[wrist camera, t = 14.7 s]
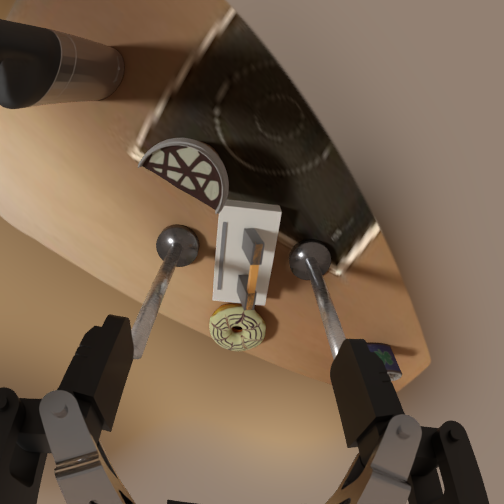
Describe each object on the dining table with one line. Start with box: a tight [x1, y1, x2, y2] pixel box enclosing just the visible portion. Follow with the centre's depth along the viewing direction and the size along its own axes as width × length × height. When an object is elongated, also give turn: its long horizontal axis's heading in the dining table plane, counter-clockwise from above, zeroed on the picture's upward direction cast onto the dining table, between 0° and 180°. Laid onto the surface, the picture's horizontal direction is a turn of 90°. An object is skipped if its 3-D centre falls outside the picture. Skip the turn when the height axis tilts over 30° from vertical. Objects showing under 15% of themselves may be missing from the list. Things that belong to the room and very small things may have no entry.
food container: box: [138, 138, 229, 214], centre depth 37 cm, size 12×6×10 cm, turn 56°
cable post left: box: [131, 225, 199, 359], centre depth 38 cm, size 7×7×24 cm
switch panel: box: [213, 200, 282, 305], centre depth 48 cm, size 9×17×3 cm, turn 173°
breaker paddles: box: [236, 228, 265, 311], centre depth 44 cm, size 2×11×5 cm, turn 173°
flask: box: [367, 343, 402, 381], centre depth 56 cm, size 9×3×11 cm, turn 75°
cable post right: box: [289, 239, 346, 359], centre depth 39 cm, size 7×7×24 cm
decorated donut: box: [209, 303, 266, 351], centre depth 55 cm, size 10×11×4 cm
